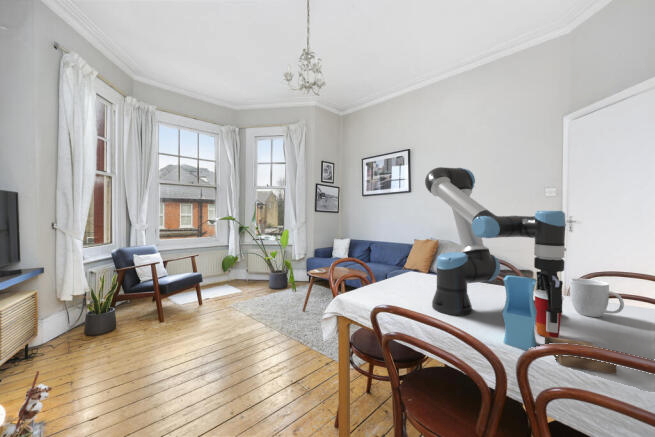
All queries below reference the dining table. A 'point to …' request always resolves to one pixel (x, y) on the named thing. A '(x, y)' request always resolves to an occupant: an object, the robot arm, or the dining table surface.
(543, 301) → the paper cup
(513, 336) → the vase
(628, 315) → the dining table surface
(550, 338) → the base
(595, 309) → the mug
